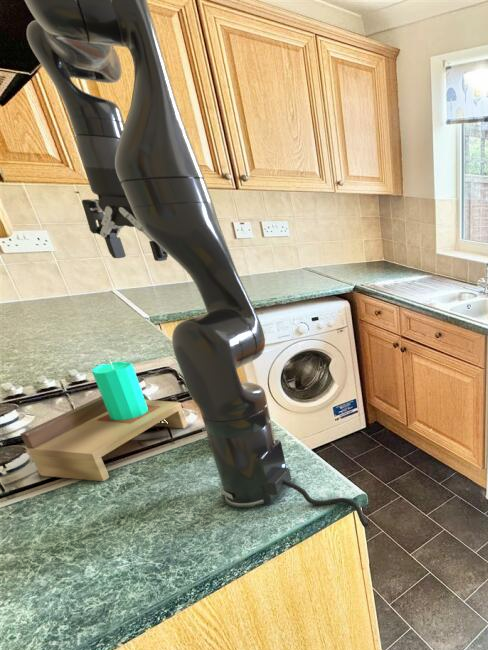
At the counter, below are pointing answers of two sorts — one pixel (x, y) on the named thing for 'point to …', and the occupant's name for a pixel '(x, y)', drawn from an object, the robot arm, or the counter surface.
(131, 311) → the counter surface
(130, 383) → the candle
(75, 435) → the shelf
